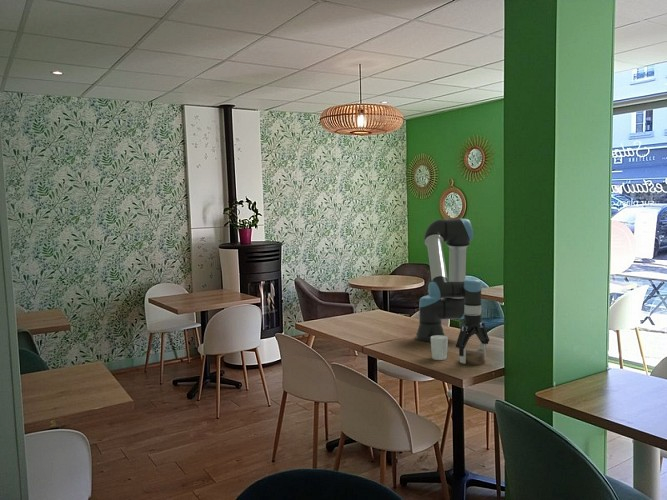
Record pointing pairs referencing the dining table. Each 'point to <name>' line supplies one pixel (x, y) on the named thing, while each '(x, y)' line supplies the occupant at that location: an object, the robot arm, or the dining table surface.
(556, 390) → the dining table surface
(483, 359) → the walnut lid
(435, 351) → the white cup
